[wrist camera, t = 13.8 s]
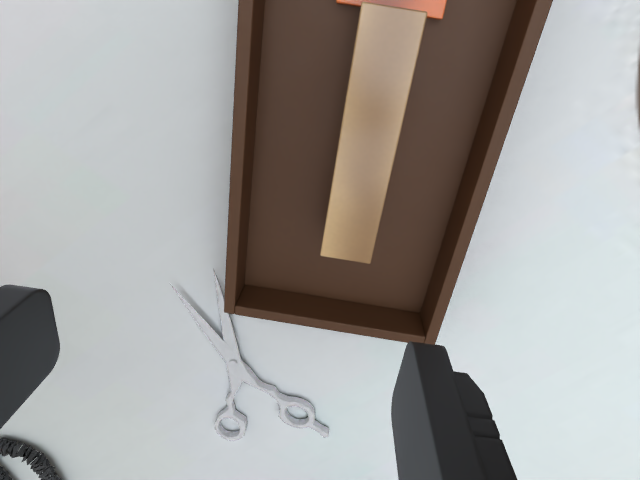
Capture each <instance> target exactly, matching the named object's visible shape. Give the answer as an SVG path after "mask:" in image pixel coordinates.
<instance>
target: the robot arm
mask: <svg viewBox="0 0 640 480" xmlns="http://www.w3.org/2000/svg"><path fill="white" fill-rule="evenodd" d="M59 351H60V343H59V337H58V332H57V327H56V322H55V317H54V312H53V306H52V301H51V297H50V295H49V293H48V292H47V291H46V290H43V289H37V288H30V287H23V286H15V285H4V286H1V287H0V429H1V428H2V426H3V425H4V424H5V423H6V422H7V421H8V420H9V419H10V417H11V416H12V415H13V414H14V413H15V412H16V411H17V410H18V408H19V407H20V406H21V405H22V404H23V403H24V402H25V400H26V399H27V398H28V397H29V396H30V395H31V394H32V393H33V391H34V390H35V389H36V388H37V387H38V386H39V385H40V384H41V382H42V381H43V380H44V379H45V378H46V377H47V376H48V374H49V373H50V372H51V371H52V369H53V368H54V366H55V364H56V362H57V359H58V356H59ZM391 417H392V428H393V436H394V444H395V453H396V461H397V469H398V478H399V480H517V478H516V475H515V473H514V470H513V467H512V465H511V462H510V460H509V457H508V455H507V452H506V449H505V447H504V444H503V442H502V440H500V434H499V431H498V429H497V426H496V424H495V421H494V420H492V413H491V411H490V408H489V406H488V403H487V400H486V398H485V395H484V393H483V392H482V391H481V390H480V388H479V387H478V386H477V385H476V384H475V382H474V381H473V380H472V379H471V378H470V376H469V375H468V374H467V373H460V372H453V369H452V366H451V363H450V360H449V357H448V354H447V351H446V349H445V347H444V346H440V345H433V344H426V343H419V342H412V341H410V342H409V343H408V344H407V346H406V349H405V353H404V356H403V360H402V363H401V367H400V370H399V374H398V377H397V381H396V384H395V388H394V392H393V397H392V408H391Z"/></svg>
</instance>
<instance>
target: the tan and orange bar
mask: <svg viewBox="0 0 640 480" xmlns="http://www.w3.org/2000/svg"><path fill="white" fill-rule="evenodd" d="M336 2H337V3H338V4H343V5H349V6H356V7H361V8H360V14H359V20H358V26H357V33H356V39H355V45H354V51H353V57H352V63H351V69H350V75H349V81H348V88H347V94H346V100H345V106H344V112H343V118H342V124H341V130H340V136H339V143H338V149H337V155H336V161H335V167H334V173H333V179H332V185H331V191H330V198H329V204H328V210H327V216H326V222H325V228H324V234H323V241H322V247H321V253H320V255H321V256H325V257H331V258H337V259H343V260H349V261H356V262H362V263H368V264H370V263H371V259H372V255H373V250H374V246H375V241H376V237H377V233H378V228H379V224H380V220H381V215H382V211H383V206H384V202H385V198H386V193H387V189H388V185H389V180H390V176H391V171H392V167H393V163H394V158H395V154H396V149H397V145H398V141H399V136H400V132H401V128H402V123H403V119H404V114H405V110H406V106H407V101H408V97H409V93H410V88H411V84H412V79H413V75H414V71H415V66H416V62H417V57H418V53H419V49H420V44H421V40H422V36H423V31H424V27H425V22H426V18H431V19H437V20H440V19H442V18H443V15H444V11H445V7H446V2H447V0H336Z"/></svg>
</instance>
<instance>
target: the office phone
mask: <svg viewBox="0 0 640 480" xmlns="http://www.w3.org/2000/svg"><path fill="white" fill-rule="evenodd" d="M21 445H22V443H18V444H16V441H15V442H14V441H10V440H9V441H8V440H7V439H6V438H5V439H4V440H3V439H1V440H0V454H2V456H3V455H4V456H6V455H8V454H9V455H10V456H11V457H12V458H15V457H18V456H20V457H24V458H23V460H22V462H23V461H25V460H26V459H27V458H28V459H27V465H28V464H30V463H31V462H32V461H33V460H34V459H35V458H36V457H37V458H36V459H35V460H34V461H33V462H32V463H31V464H30V465H32V466H31V469H33V471H34V472H36V474H39V478H42V479H41V480H61V478H60V477H58V476H57V474H56V473H55V472H54V469H55V467H53V466H50V464H49V461H48V459H46V457H45V456H44V454H43V453H42V454H41V453H40V452H37V451H36V450H35V449H33V448H32V447H31V446H29V447H28V446H27V445H26V444H25V443H24V444H23V446H22V447H21ZM20 447H21V448H20ZM27 447H28V448H27ZM19 448H20V450H19ZM32 449H33V450H32ZM18 450H19V451H18ZM25 450H26V451H25ZM31 450H32V451H31ZM17 452H18V453H17ZM40 454H41V455H40ZM42 472H43V473H42ZM50 475H51V476H50ZM54 475H55V476H54ZM4 476H5V477H4ZM0 480H12V478H11V477H10V476H9V474H8V472H7V471H5V470H3V467H1V466H0Z"/></svg>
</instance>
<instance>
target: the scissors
mask: <svg viewBox="0 0 640 480" xmlns="http://www.w3.org/2000/svg"><path fill="white" fill-rule="evenodd" d="M213 269H214V268H213ZM214 277H215V284H216V292H217V299H218V306H219V312H220V318H221V326H222V335H223V339H224V341H223V340H222V339H221V337H220V336H219V335H218V334H217V333H216V332H215V331H214V330H213V329H212V328H211V326H210V325H209V324H208V323H207V322H206V321H205V320H204V319H203V318H202V317H201V316H200V315H199V314H198V312H197V311H196V310H195V309H194V308H193V307H192V306H191V305H190V304H189V303H188V302H187V301H186V300H185V299H184V298H183V297H182V295H181V294H180V293H179V292H178V291H177V290H176V289H175V288H174V287H173V286H172V285H171V286H172V287H173V289H174V290H175V292H176V293H177V295H178V296H179V298H180V299H181V301H182V302H183V304H184V305H185V307H186V308H187V309H188V311H189V312H190V314H191V315H192V317H193V318H194V320H195V321H196V323H197V324H198V326H199V327H200V328H201V330H202V331H203V333H204V334H205V336H206V337H207V338H208V340H209V341H210V342H211V344H212V345H213V347H214V348H215V349H216V351H217V352H218V353H219V355H220V356H221V357H222V359H223V360H224V362H225V363H226V367H227V373H228V377H229V381H230V388H231V392H230V393H229V394H228V395H227V398H226V403H227V407H226V408H225V409H224V410H222V411H221V412H220V413H219V414H218V417H217V419H216V422H215V430H216V432H217V433H218V434H219V435H220V436H221V437H222V438H224V439H226V440H229V441H235V440H239V439H240V438H242V437H243V436H244V434H245V430H246V426H247V419H246V416H244V415H243V414H241V413H240V412H238V411H237V410H235V404H234V402H233V399H234V396H235V394H236V392H237V391H238V389H239V388H240V386H241V384H242V381H243V382H245V383H247V384H249V385H251V386H253V387H255V388H257V389H259V390H261V391H263V392H265V393H267V394H269V395H270V396H272V397H273V398H274V399H275V400H276V401H277V403H278V405H279V406H280V411H279V416H278V417H279V418H280V419H281V420H282V421H283V422H284V423H286V424H288V425H290V426H293V427H296V428H307V427H309V428H311V429H313V430H315V431H317V432H318V433H320V435H321V436H323V437H324V438H325V437H328V436H329V429H328V427H326V426H323V425H321V424H320V423H319V422H318V421H316V420H315V411H314V408H313V407H312V405H311V404H310V402H308V401H306V400H304V399H302V398H298V397H290V396H286V395H284V394H282V393H279V391H278V390H277V388H276V387H275V386H273V385H269V384H266V383H264V382H262V381H260V380H259V379H258V378H257V376H256V375H255V374H254V372H253V371H252V370H251V369H250V367H249V366H248V365H246V364H245V363H244V362H243V361H242V360H241V357H240V353H239V349H238V345H237V341H236V337H235V333H234V329H233V326H232V323H231V319H230V316H229V313H224V297H223V294H222V290H221V287H220V284H219V281H218V279H217V276H216V274H215V271H214ZM292 406H297V407H300V408H302V409H304V410H305V411H306V412H307V414H308V417H307V418H306V419H295V418H294V417H292V416H290V415H289V413H288V412H287V410H286V408H287V407H292ZM225 418H231V419H233V420H235V421H236V422H237V423H238V425H239V428H240V430H239V431H235V432H230V431H227V430H225V429H224V428H223V427H222V425H221V423H220V421H221V420H222V419H225Z"/></svg>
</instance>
